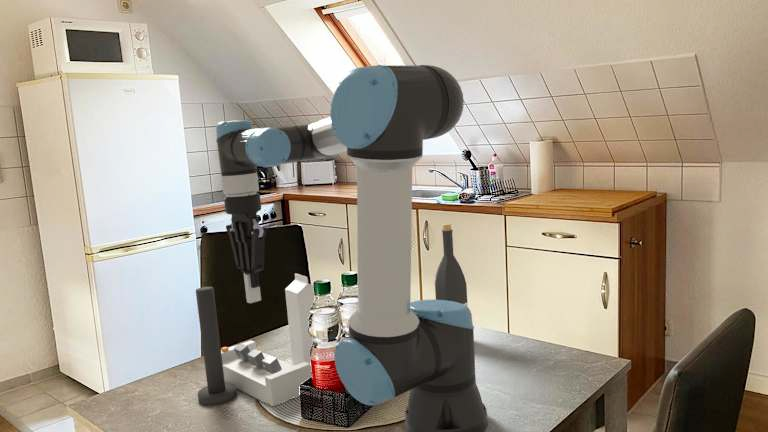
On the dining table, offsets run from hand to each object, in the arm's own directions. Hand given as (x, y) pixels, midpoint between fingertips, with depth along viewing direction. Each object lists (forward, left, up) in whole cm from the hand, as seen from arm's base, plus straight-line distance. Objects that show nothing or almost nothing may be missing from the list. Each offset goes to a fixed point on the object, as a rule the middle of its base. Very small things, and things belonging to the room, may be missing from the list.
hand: (254, 301), depth 139 cm
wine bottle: (-18, -44, -19) cm, 51 cm away
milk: (0, -13, -19) cm, 23 cm away
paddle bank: (0, 0, -15) cm, 15 cm away
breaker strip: (0, 0, -19) cm, 19 cm away
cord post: (+2, +10, -19) cm, 22 cm away
